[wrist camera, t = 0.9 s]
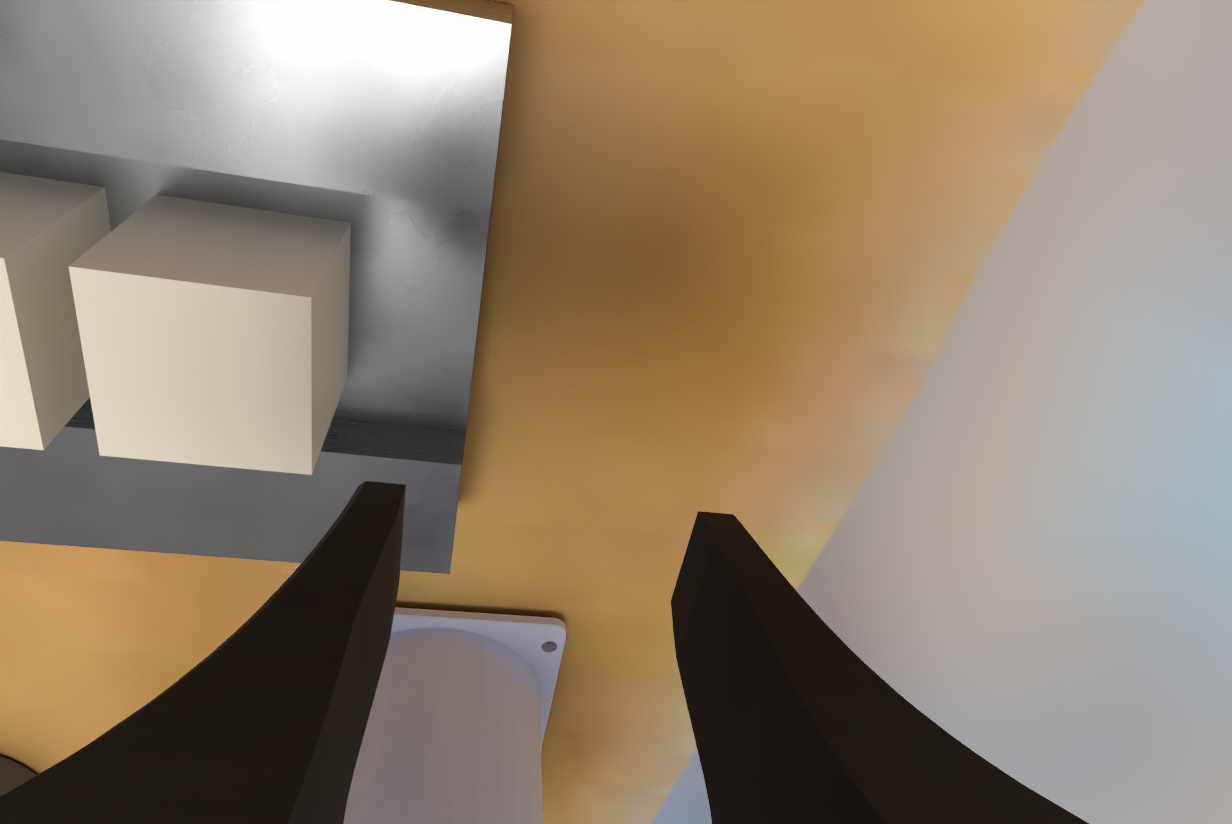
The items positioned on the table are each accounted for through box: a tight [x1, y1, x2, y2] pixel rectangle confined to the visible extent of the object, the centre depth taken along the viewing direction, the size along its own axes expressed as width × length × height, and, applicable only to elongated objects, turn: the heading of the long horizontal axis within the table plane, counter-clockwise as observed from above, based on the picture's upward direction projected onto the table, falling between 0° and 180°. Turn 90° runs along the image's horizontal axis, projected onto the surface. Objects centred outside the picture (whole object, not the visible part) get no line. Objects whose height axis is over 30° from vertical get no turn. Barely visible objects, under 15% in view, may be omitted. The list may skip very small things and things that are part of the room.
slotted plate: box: [0, 0, 514, 574], centre depth 18 cm, size 14×18×3 cm
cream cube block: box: [68, 195, 351, 475], centre depth 17 cm, size 4×4×4 cm
